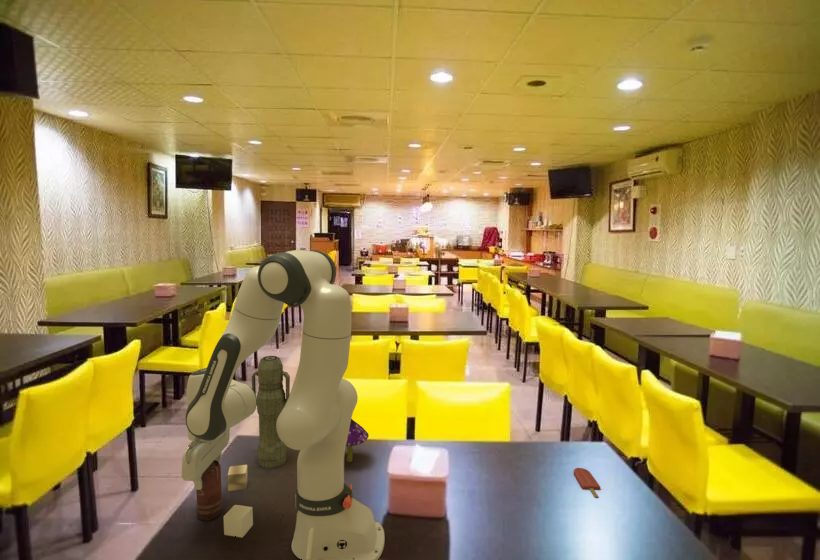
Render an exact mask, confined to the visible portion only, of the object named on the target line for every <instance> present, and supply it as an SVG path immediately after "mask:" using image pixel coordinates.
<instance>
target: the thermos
mask: <svg viewBox="0 0 820 560" xmlns="http://www.w3.org/2000/svg"><path fill="white" fill-rule="evenodd" d="M256 376H257V380H258V381H257V382H258V388H257V387H256ZM284 378H285V389H284V384H283V381H284ZM290 382H291V376H290V374H289V373H288V372H287V371H284V365H283V363H282V361H281V358H280V357H279V356H276V355H268V356H267V355H266V356H263V357H262V358H260V360H259V363H258V366H257V370H255V372H253V374H252V376H251V388H252V389H253V390H254V392H255V394H256V398H257V406H256V411H257V414H258V432H259V433H258V436H259V437H258V438H259V443H258V447H257V457H258V466H259V467H260V466H261V467H260V468H263V469H267V470H271V469H277V468H281V467H282V466H284V465H285V464H286V463H287V453H288V452H287V451H288V450H287V446H286V445H285V444H284V443H283V442H282V441H281V439H280V438H279V436H278V433H277V428H276V423H277V419H278V416H279V415H280V413H281V412H282V410H283V408H284V407H285V405H286V403H287V400H288V398H289V395H290V392H291V385H290V384H291V383H290ZM256 389H258V390H257V391H256Z"/></svg>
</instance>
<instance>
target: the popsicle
mask: <svg viewBox="0 0 820 560" xmlns="http://www.w3.org/2000/svg"><path fill="white" fill-rule="evenodd" d="M573 477H574V478H575V480H576V482H577V483H578V485H579V487H580V488H581V490H584V491H590V492H591V494H592V495H593V496H594V498H599V495H598V493H597V491H600V490H601V486H600V484H599V483H598V481H597V480H596V479H595V477H594V476H593V475H592V472H590V470H588V469H586V468H583V467H575V468H574V469H573Z"/></svg>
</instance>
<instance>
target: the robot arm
mask: <svg viewBox="0 0 820 560" xmlns="http://www.w3.org/2000/svg"><path fill="white" fill-rule="evenodd" d="M336 277H337V267H336V264H335V262H334V260H333V258H331V256H330V255H328V254H327V253H325V252H322V251H320V250H314V249H312V250H301V249H295V250H289V251H285V252H284V251H281V252H277V253H273V254H271V255H269V256H268V257H266V258H265V259H264V260H263V261H262V263H261V264H260V265H256V266H254V267H252V268H250V269H248V271H247V272H246V274H245V276H244V278H243V280H242V281H241V285H240V287H239V290H238V292H237V295H236V298H235V303H234V306H233V310H232V313H231V316H230V318H229V321H228V323H227V325H226V327H225V329H224V331H223V333H222V335H221V336H220V338H219V339H218V341H217V342H216V345H215V347H214V349H213V351H212V353H211V356H210V359H209V361H208V363H207V367H204V368H200V369H198V370H195V371H193V372H192V373H191V374H190V375H189V377H188V380H187V384H186V404H187V405H186V406H187V407H186V408H187V409H186V411H185V425H186V428H187V439H188V440H190V441H191V442H189V444H188V445H187V448H186V449H184V451H183V454H182V459H181V479H182V480H183V481H186V482H193V485H194V490H195V491H196V490H201V489H202V487H203V486H204V480H202V479H201V477H202V474H203V473H204V471H205V470H206V469H207V468H208V467H209V466H210V465H211V463H212V462H213V461H214V460H216V461H218V462H219V464H220V462H221V457H222V455H223V454H222V453H223V451H224V450H225V448H226V447H227V446H228V444H229V442H230V434H231V433H230V431H231V428H233V427H234V426H236V425H237V424H239V423H241V422H242V421H244V420H246V419H248V418H249V417H250V416H252V415H253V414H254V413H255V411H256V410H257V393H256V394H255V392H254V390H253V389H252V386H250V385H249V384H248V383H245V382H239V381H237V380H234V379H233V378H234V376H235V374H236V372H237V370H238V369H239V367H240V366H241V365H242V363H244V361H245V360H247V359H248V358H249V357H250V356H252V355H253V354H254V353H255V352H257V351H258V350H260V349H262V347H264V346H265V345H267V344H268V343H269V342H270V341H271V340H272V339H273V336H274V335H275V333H276V331H277V329H278V326H279V324H280V319H281V316H282V312H283V309H284V305H287V306H289V307H291V308H297V307H299V306H300V307H301V308H302V312H303V323H302V333H301V343H300V344H301V345H300V356H299V362H298V366H297V372H296V374H295V377H294V381H293V384H292V387H291V388H290V395H289V398H288V400H287V403H286V405H285V407H284V408H283V410H282V412H281V413H280V415H279V416H278V419H277V423H276V428H277V433H278V436H279V438H280V439H281V441H282V442H283V443H284V444H285V445H286V446H287V447H288V448H289V449H291V450H295V451H299V452H298V456H297V460H296V469H297V471H296V472H297V473H296V476H297V477H296V478H297V481H296V482H297V484H296V485H297V488H296V489H295V495H294V496H295V497H294V499H295V500H294V503H295V504H294V505H295V512H296V521H295V522H296V523H295V528H294V534H293V536H292V537H293V539H292V541H291V551H292V553H293V554H294V555H295V556H296V557H297V558H298V559H300V560H301V559H302V560H379V559H380V558H381V555H382V554H383V551H384V549H385V540H386V539H385V530H384V527H383V526H382V524H381V523H380V522H378V521H375V516H374V513H373V511H372V509H370V507H368V506H367V505H364V504H363V503H362V502H360V501H359V500H357V499H355V498H354V497H353V496H354V495H353V484H352V483H351V484H350V485H349V486H348V484H346V483H345V456H346V455H345V453H346V448H347V446H346V443H347V438H348V433H349V428H350V422H351V419H353V418H352V417H353V414H354V411H355V409H356V406H357V404H358V398H359V397H358V392H357V390H356V387H355V386H354V385H353V383H352V382H351V381H349V380H347V379H345V378H344V375H345V373H346V372H347V368H348V366H349V357H350V347H351V337H352V320H353V319H352V316H353V315H352V305H351V302H352V301H351V296H350V294H349V292H348V291H347V290H346V289H345V288H344V287H342V286H339V285H337V284H333V283H334V282H335V280H336ZM220 465H221V464H220Z"/></svg>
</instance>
